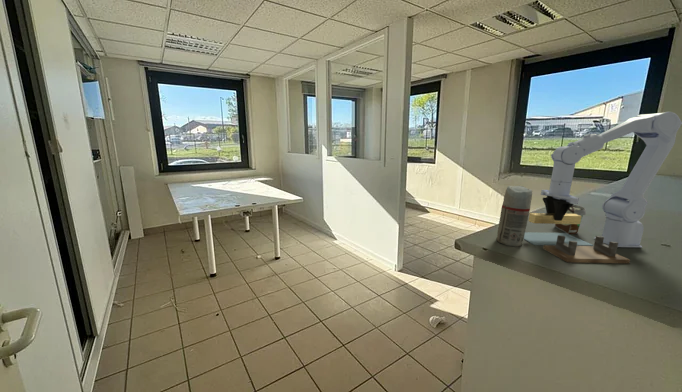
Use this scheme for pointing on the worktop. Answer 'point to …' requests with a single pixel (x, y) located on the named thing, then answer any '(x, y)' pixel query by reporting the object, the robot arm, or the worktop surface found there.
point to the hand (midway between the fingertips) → (554, 218)
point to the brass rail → (549, 219)
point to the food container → (572, 227)
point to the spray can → (514, 215)
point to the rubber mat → (551, 238)
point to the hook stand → (586, 251)
